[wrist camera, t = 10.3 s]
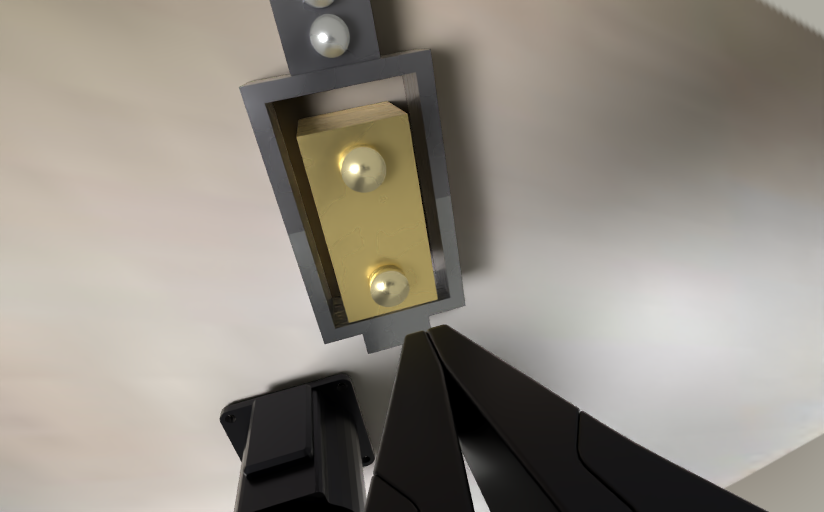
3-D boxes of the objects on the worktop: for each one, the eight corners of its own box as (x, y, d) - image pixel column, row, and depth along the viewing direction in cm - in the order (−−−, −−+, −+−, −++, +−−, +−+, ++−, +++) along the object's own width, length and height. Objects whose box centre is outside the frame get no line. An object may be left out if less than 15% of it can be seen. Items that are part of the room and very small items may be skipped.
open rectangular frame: (452, 304, 22) (470, 334, 19) (331, 337, 21) (333, 372, 19) (399, -46, 15) (416, -63, 13) (217, -15, 14) (200, -27, 12)
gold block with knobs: (414, 256, 20) (442, 307, 16) (341, 274, 20) (350, 331, 16) (386, 100, 17) (411, 116, 13) (298, 118, 17) (295, 140, 13)
